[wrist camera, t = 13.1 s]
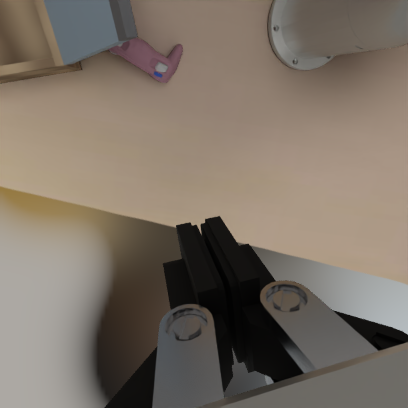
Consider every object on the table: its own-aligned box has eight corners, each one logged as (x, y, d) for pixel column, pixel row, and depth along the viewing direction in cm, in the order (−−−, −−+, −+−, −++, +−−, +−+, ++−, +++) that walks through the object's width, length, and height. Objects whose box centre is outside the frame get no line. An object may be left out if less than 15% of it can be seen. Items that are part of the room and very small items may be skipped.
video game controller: (106, 32, 41) (91, 50, 36) (119, -1, 38) (105, 13, 33) (171, 73, 44) (165, 94, 39) (186, 45, 42) (183, 64, 37)
